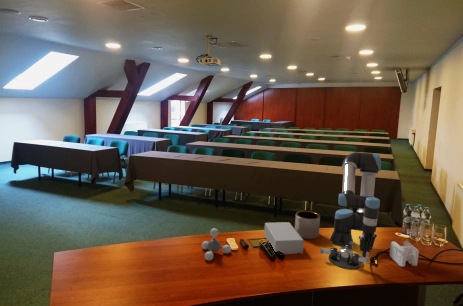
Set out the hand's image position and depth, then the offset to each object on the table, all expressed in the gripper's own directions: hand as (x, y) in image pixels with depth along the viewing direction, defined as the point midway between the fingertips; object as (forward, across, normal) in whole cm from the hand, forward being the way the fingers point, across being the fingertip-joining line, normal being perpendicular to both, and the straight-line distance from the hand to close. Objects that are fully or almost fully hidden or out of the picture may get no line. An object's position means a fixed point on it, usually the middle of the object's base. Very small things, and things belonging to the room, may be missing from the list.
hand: (364, 261), depth 190 cm
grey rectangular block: (+4, -10, +18) cm, 21 cm away
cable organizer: (+5, +31, -4) cm, 32 cm away
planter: (+6, +3, +54) cm, 55 cm away
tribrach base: (+6, -1, +13) cm, 14 cm away
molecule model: (+9, -73, +58) cm, 93 cm away
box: (+7, -23, +49) cm, 55 cm away
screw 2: (+4, +1, +3) cm, 5 cm away
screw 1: (+4, +8, +18) cm, 20 cm away
